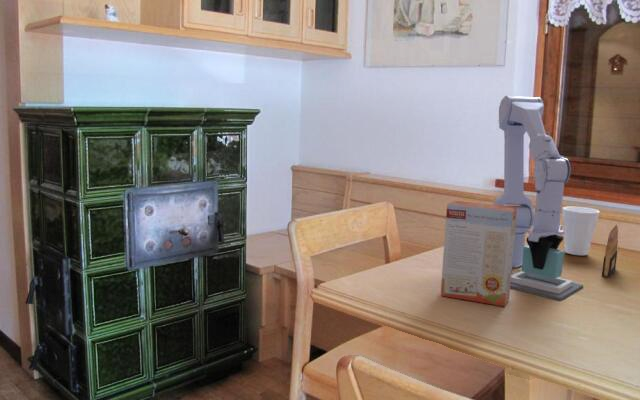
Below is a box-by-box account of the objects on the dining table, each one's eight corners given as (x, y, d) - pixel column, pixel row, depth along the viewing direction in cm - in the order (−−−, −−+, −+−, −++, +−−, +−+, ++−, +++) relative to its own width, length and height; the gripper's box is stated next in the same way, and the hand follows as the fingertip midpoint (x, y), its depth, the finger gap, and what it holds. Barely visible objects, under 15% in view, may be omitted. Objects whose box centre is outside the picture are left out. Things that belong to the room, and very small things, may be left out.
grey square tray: (497, 284, 146) (497, 277, 146) (522, 273, 157) (523, 266, 156) (560, 300, 137) (561, 292, 136) (582, 287, 147) (583, 280, 147)
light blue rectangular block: (554, 278, 142) (557, 253, 141) (521, 271, 147) (523, 246, 146) (561, 275, 145) (564, 250, 144) (528, 268, 150) (530, 244, 149)
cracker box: (509, 300, 136) (518, 206, 132) (504, 308, 130) (513, 210, 127) (446, 289, 142) (453, 199, 138) (439, 296, 136) (446, 203, 133)
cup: (562, 247, 186) (567, 204, 184) (598, 253, 180) (603, 209, 178) (553, 253, 178) (558, 209, 176) (590, 260, 172) (595, 214, 170)
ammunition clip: (609, 277, 156) (615, 231, 154) (601, 276, 157) (607, 230, 155) (615, 268, 165) (620, 224, 163) (607, 267, 166) (613, 223, 164)
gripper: (552, 216, 136) (546, 276, 138) (576, 209, 146) (570, 264, 149) (522, 211, 140) (516, 269, 142) (547, 204, 151) (541, 258, 153)
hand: (542, 266), depth 146 cm, fingers closed on light blue rectangular block, 4 cm apart
